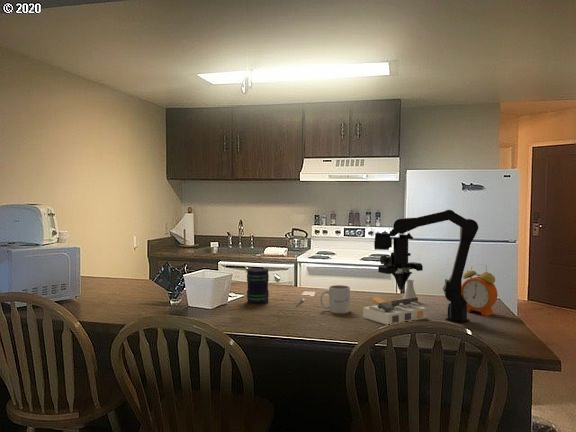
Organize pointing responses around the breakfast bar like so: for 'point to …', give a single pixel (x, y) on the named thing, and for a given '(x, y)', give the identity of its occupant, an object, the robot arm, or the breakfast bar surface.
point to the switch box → (395, 313)
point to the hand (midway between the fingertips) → (400, 289)
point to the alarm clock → (479, 292)
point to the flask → (410, 290)
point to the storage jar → (257, 286)
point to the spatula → (305, 294)
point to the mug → (338, 299)
